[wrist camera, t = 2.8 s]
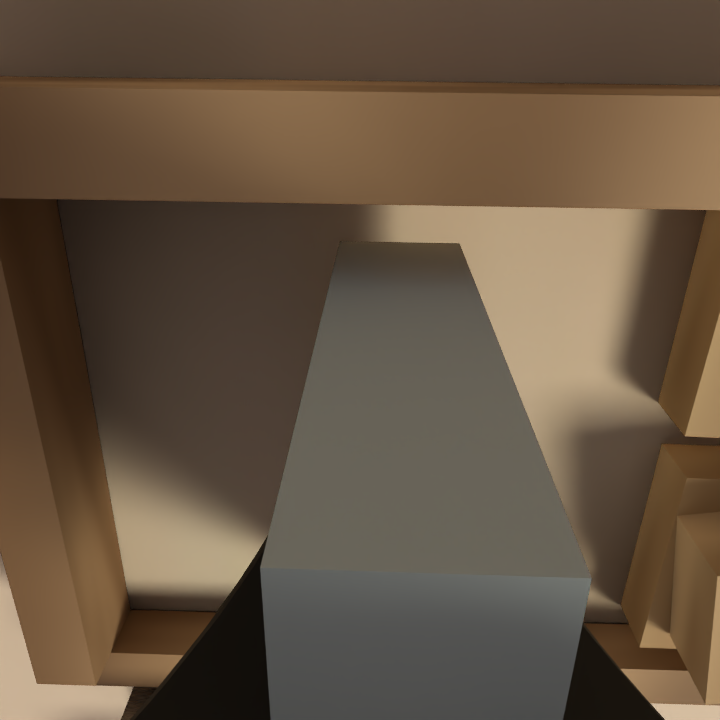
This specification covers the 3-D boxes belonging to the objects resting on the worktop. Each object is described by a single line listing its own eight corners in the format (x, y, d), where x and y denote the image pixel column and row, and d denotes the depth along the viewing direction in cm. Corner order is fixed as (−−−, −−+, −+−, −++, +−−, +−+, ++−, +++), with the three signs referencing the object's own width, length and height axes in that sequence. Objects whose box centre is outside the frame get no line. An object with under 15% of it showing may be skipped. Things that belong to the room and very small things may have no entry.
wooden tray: (1045, 90, 10) (1353, 105, 7) (809, 662, 15) (923, 823, 12) (-42, 76, 10) (-228, 83, 7) (85, 639, 16) (9, 790, 12)
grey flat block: (459, 243, 10) (591, 578, 4) (430, 633, 13) (472, 1165, 7) (340, 240, 10) (261, 568, 4) (341, 630, 13) (301, 1153, 7)
